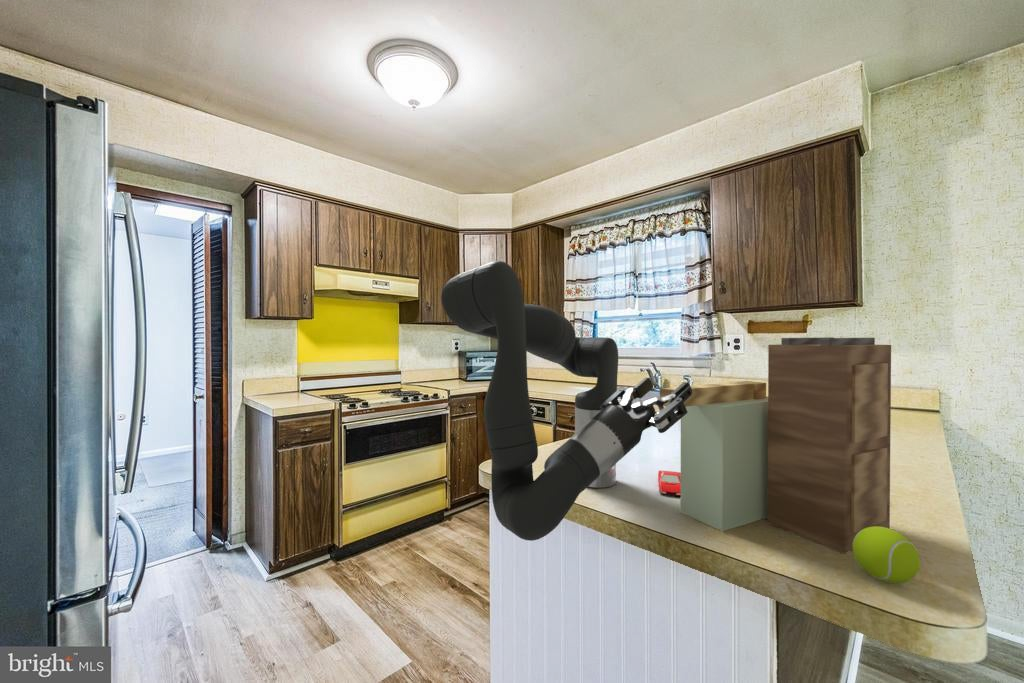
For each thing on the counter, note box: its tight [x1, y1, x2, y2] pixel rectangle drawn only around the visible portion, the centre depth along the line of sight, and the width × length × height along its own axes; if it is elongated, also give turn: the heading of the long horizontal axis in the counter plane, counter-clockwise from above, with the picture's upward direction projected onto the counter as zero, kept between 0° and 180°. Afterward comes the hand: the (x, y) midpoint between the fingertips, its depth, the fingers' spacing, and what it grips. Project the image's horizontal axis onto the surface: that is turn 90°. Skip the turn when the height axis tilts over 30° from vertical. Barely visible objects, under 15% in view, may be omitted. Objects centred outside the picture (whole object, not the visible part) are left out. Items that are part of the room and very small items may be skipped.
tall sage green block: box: [680, 397, 768, 532], centre depth 81 cm, size 16×9×22 cm, turn 116°
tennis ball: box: [852, 526, 921, 584], centre depth 59 cm, size 7×7×7 cm
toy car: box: [657, 470, 681, 498], centre depth 95 cm, size 12×5×3 cm, turn 161°
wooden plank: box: [659, 380, 767, 408], centre depth 79 cm, size 24×4×3 cm, turn 116°
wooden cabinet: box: [767, 336, 892, 554], centre depth 74 cm, size 14×12×33 cm
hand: (668, 384), depth 74 cm, fingers open, 8 cm apart
